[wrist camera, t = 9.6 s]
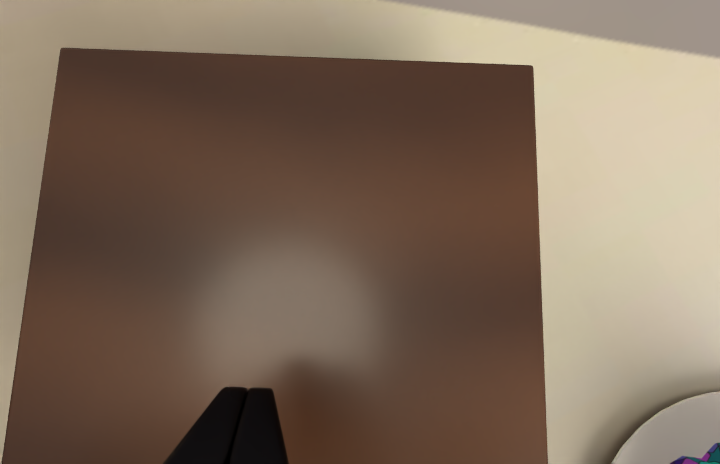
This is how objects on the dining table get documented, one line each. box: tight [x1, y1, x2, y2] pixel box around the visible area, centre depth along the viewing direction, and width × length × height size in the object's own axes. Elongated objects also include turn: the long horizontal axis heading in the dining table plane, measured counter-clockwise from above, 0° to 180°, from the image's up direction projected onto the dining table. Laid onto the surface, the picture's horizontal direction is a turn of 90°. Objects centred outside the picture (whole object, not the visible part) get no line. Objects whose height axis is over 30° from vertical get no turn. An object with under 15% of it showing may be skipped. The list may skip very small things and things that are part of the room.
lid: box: [2, 48, 548, 464], centre depth 14 cm, size 13×14×1 cm
